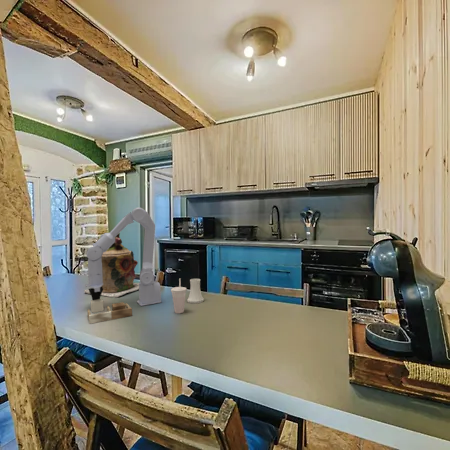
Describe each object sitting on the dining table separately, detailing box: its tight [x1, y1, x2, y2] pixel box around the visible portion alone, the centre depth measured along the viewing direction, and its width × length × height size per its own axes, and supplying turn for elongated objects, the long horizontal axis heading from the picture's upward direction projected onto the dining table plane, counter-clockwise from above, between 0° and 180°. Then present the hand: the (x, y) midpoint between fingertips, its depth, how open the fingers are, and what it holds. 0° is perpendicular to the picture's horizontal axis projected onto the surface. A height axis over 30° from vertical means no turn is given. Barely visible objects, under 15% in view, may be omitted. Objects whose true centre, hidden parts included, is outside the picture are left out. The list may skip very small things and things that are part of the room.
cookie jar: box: [84, 232, 139, 299], centre depth 150 cm, size 25×25×32 cm
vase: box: [186, 278, 204, 304], centre depth 129 cm, size 8×8×10 cm
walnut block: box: [111, 301, 126, 311], centre depth 113 cm, size 4×4×4 cm
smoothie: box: [170, 278, 188, 314], centre depth 114 cm, size 6×6×14 cm
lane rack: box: [86, 302, 133, 325], centre depth 111 cm, size 15×10×3 cm, turn 120°
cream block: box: [90, 298, 104, 314], centre depth 118 cm, size 4×4×4 cm
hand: (96, 304), depth 121 cm, fingers closed
